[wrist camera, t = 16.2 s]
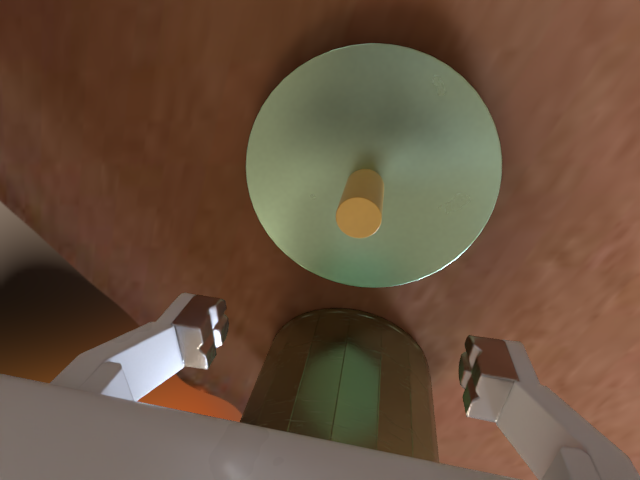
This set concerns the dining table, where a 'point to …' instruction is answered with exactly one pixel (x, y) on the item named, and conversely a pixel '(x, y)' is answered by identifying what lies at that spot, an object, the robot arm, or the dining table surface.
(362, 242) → the lid
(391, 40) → the dining table surface
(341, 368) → the tin
